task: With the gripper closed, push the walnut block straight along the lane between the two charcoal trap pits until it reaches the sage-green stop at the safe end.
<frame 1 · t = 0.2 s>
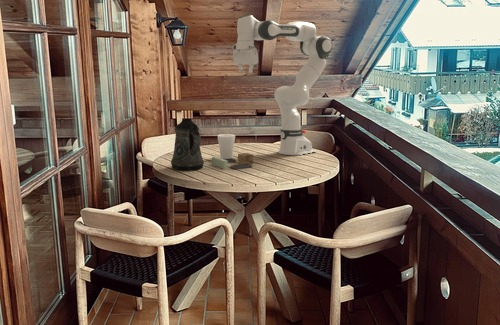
hand: (245, 72, 271), 47 cm above the table, fingers open, 8 cm apart
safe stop: (219, 166, 259), on the table
beer stein: (189, 168, 255), on the table
trap pair: (233, 164, 263), on the table
foam cup: (226, 158, 280), on the table
walnut block: (245, 163, 267), on the table
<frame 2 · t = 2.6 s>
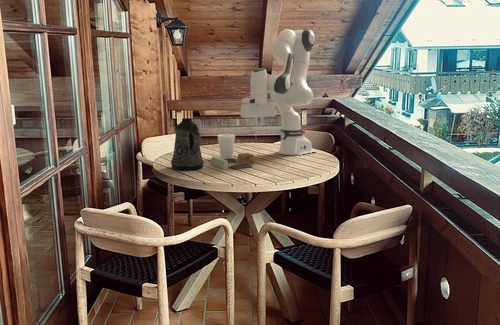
hand: (258, 125, 267), 20 cm above the table, fingers closed
nothing on the table moved.
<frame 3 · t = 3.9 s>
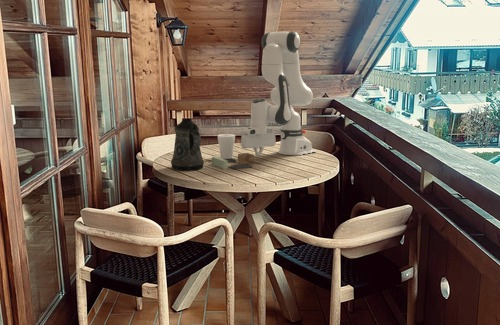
hand: (258, 155, 270), 4 cm above the table, fingers closed
nothing on the table moved.
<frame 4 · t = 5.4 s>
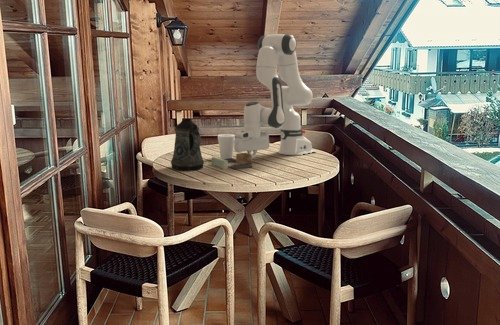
hand: (252, 158, 269), 2 cm above the table, fingers closed
walnut block: (243, 163, 267), on the table, touching gripper
everything else where it was.
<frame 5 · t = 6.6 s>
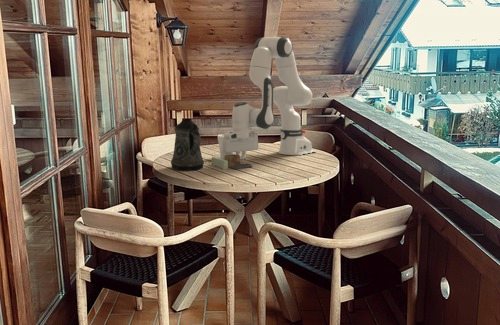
hand: (240, 159, 265), 2 cm above the table, fingers closed
walnut block: (232, 164, 263), on the table, touching gripper
everything else where it was.
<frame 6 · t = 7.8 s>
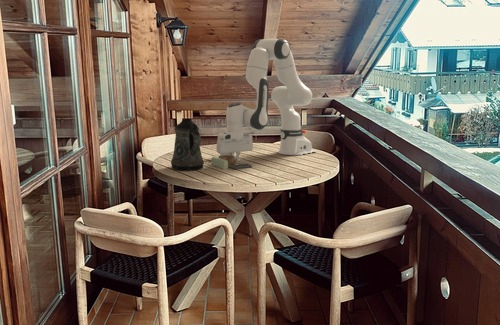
hand: (235, 160, 264), 2 cm above the table, fingers closed
walnut block: (226, 165, 261), on the table, touching gripper, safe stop
everything else where it was.
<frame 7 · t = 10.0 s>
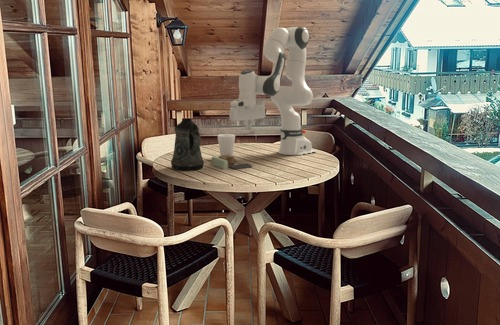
hand: (248, 128, 264), 19 cm above the table, fingers closed
walnut block: (226, 165, 262), on the table
everything else where it was.
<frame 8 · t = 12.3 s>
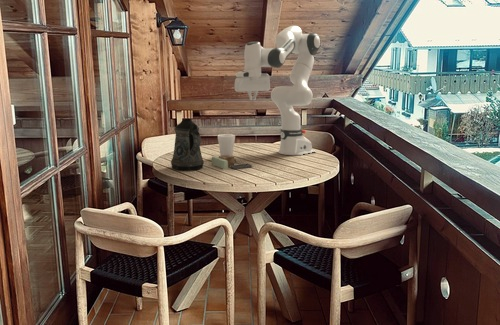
hand: (252, 100, 265), 33 cm above the table, fingers closed
nothing on the table moved.
at the end: walnut block 0.8 cm from the target spot, on the table; walnut block touching table; walnut block tilted 0° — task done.
